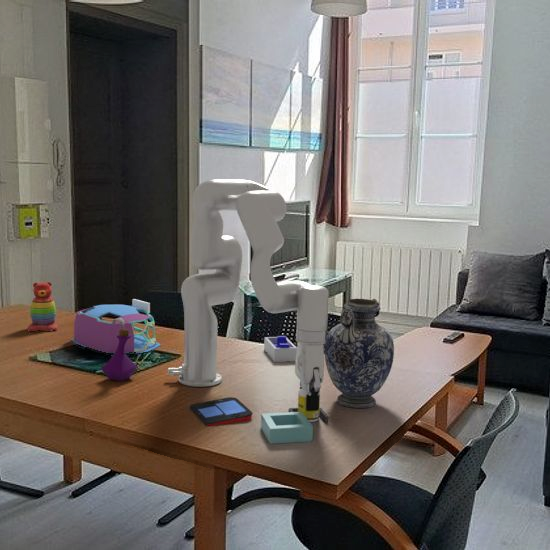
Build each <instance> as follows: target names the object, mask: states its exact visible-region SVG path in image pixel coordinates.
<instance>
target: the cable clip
mask: <svg viewBox="0 0 550 550" xmlns="http://www.w3.org/2000/svg"><path fill="white" fill-rule="evenodd" d="M276 337H277V344H273V345H274V346H275V347H276V348H289V344H286V337H287V336H286V335H277V336H276Z"/></svg>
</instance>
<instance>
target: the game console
mask: <svg viewBox="0 0 550 550" xmlns="http://www.w3.org/2000/svg"><path fill="white" fill-rule="evenodd" d="M189 409H190V410H191V412H192V413H194V415H195V416H196V417H197V418H198V419H199V420H200V422H201V423H203V424H204V425H205V426H206V427H211V426H219V425H225V424H226V425H227V424H233V423H242V422H248V421H251V420H252V419H251V418H252V416H253V411H251V410H250V409H249V408H248V407H247V406H246V405H245V404H243V403H242V402H241V401H240V400H239V399H238V398H237V397H234V396H233V397H232V396H229V397H224V398H218V399H214V400H208V401H203V402H198V403H194V404H190V406H189Z"/></svg>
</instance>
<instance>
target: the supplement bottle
mask: <svg viewBox="0 0 550 550" xmlns="http://www.w3.org/2000/svg"><path fill="white" fill-rule="evenodd" d="M313 382H314V380H311V381H310V383H313ZM301 386H302V388H301V389H300V388H299V390H298V398H297V408H298V412H302V413H303V414H304V416H305V417H306V418H307V419H308V421H309V422H310V423H315V422H318V421H319V420H320V416H319V410H318V411H307V410H306V395H308V388H307V384H304V383H303V382H302V384H301ZM312 387H314V385H311V388H312ZM320 400H321V394H320V395H319V409H320V408H321V407H320V405H321V404H320Z"/></svg>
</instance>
